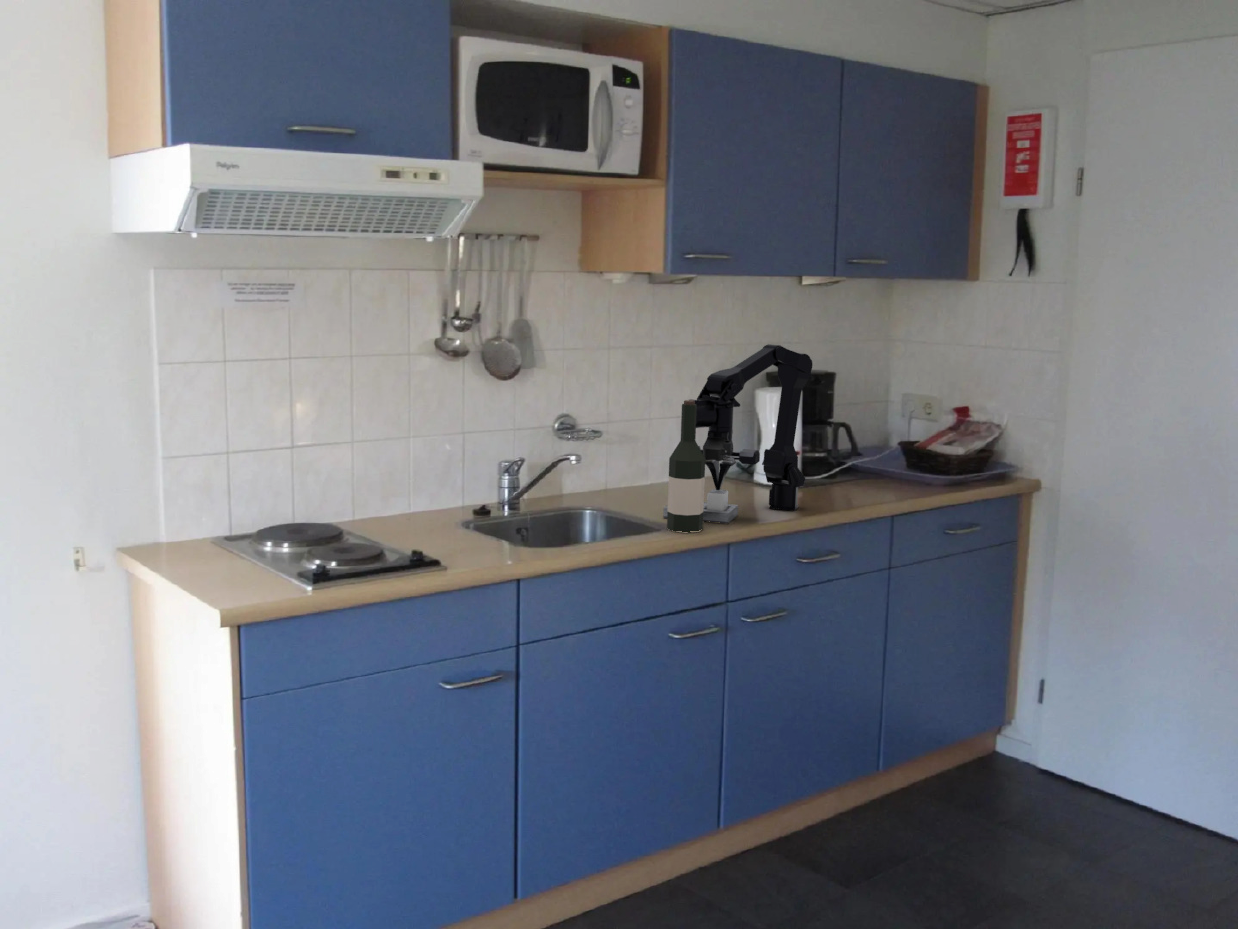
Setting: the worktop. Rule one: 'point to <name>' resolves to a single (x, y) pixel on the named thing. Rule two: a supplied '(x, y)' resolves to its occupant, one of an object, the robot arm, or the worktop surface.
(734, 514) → the socket plate
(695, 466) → the wine bottle
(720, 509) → the plug
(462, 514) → the worktop surface
